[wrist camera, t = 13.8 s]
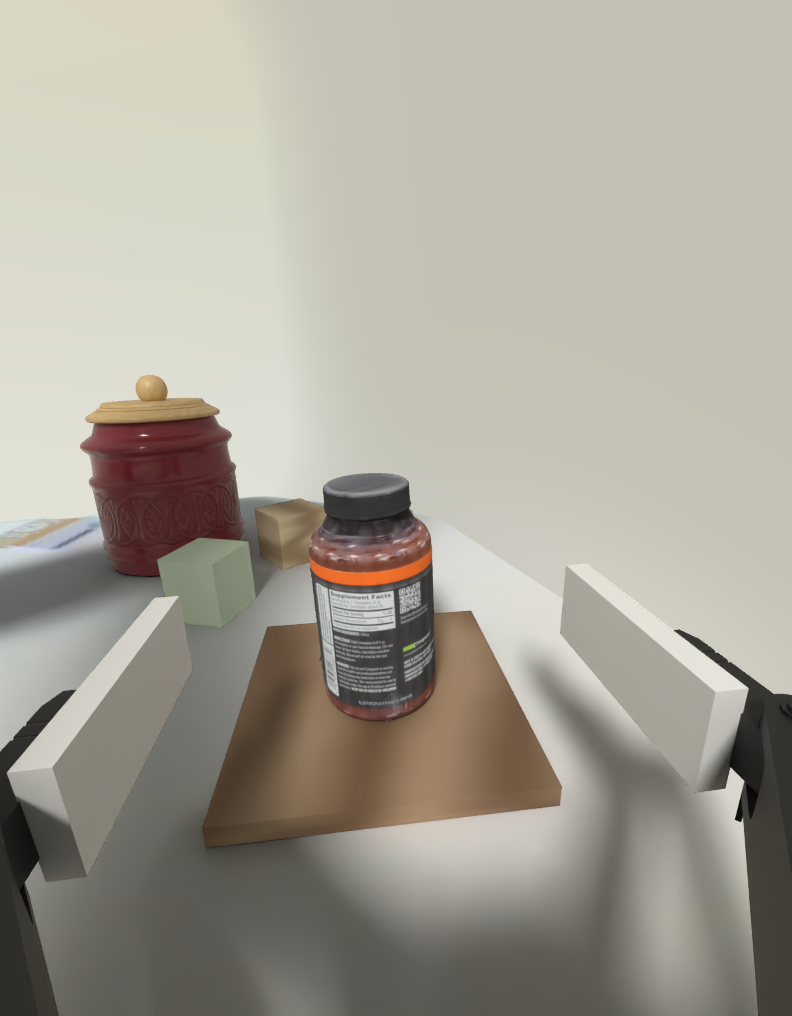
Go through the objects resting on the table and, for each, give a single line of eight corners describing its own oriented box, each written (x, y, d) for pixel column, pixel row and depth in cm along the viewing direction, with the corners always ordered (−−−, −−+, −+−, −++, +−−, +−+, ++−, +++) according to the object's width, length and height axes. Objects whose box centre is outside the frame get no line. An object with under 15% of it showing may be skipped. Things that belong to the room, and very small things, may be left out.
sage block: (169, 621, 33) (157, 559, 32) (208, 593, 37) (198, 537, 36) (222, 628, 32) (211, 564, 31) (256, 598, 36) (248, 541, 35)
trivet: (206, 847, 17) (202, 828, 17) (269, 639, 30) (267, 626, 30) (559, 805, 18) (561, 786, 18) (470, 623, 32) (470, 610, 31)
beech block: (283, 571, 41) (278, 519, 40) (260, 555, 45) (254, 508, 44) (329, 556, 44) (325, 508, 43) (304, 543, 48) (300, 498, 47)
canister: (246, 566, 42) (219, 372, 37) (89, 589, 39) (36, 377, 34) (246, 525, 54) (226, 373, 49) (127, 539, 51) (91, 377, 45)
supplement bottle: (355, 645, 28) (341, 465, 24) (448, 663, 26) (446, 469, 22) (302, 711, 22) (274, 493, 19) (413, 742, 20) (404, 502, 17)
